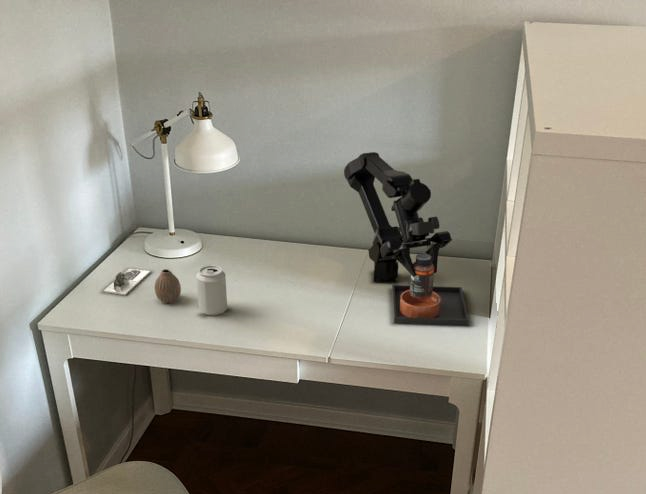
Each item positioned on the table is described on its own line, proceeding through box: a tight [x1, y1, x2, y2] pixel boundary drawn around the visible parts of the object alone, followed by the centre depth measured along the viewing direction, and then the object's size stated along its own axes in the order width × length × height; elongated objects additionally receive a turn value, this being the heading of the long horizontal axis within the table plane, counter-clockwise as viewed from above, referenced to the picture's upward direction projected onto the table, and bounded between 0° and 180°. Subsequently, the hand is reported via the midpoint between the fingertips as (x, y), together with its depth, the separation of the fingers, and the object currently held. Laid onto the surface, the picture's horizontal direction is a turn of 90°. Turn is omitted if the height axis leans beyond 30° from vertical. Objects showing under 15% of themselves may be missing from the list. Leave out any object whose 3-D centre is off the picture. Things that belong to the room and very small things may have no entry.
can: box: [196, 264, 228, 317], centre depth 208 cm, size 8×8×12 cm
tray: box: [391, 284, 470, 327], centre depth 215 cm, size 19×19×2 cm
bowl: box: [400, 290, 441, 318], centre depth 212 cm, size 11×11×4 cm
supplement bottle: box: [410, 253, 435, 299], centre depth 208 cm, size 6×6×11 cm
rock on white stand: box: [103, 268, 151, 296], centre depth 223 cm, size 15×7×4 cm, turn 165°
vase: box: [154, 268, 182, 304], centre depth 213 cm, size 7×7×9 cm
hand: (425, 274), depth 206 cm, fingers closed on supplement bottle, 6 cm apart
